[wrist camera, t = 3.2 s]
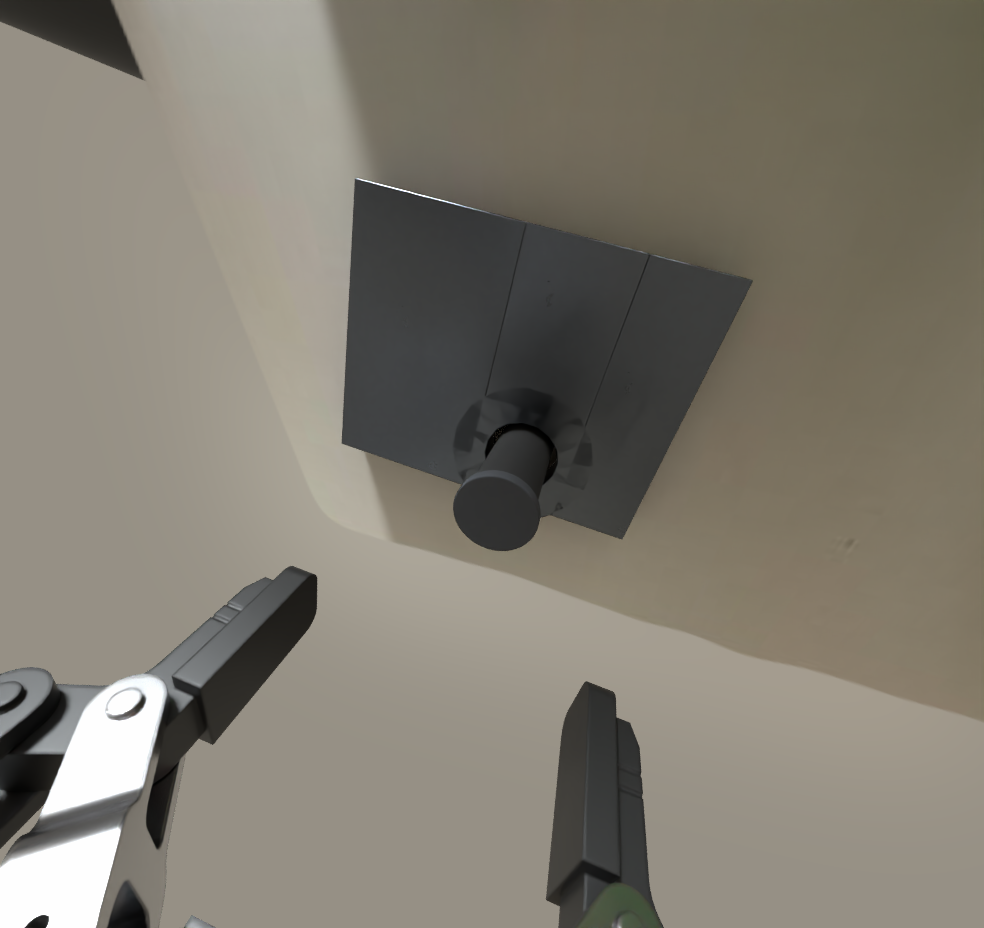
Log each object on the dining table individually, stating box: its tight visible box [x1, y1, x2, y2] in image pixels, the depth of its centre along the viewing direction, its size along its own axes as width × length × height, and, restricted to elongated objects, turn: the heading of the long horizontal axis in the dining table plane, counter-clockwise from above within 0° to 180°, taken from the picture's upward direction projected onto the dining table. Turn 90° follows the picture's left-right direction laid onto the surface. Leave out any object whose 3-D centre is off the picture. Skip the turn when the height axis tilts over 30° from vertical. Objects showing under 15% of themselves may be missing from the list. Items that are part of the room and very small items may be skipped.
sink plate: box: [342, 178, 753, 539], centre depth 22 cm, size 18×15×2 cm
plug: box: [453, 423, 553, 551], centre depth 21 cm, size 4×4×8 cm
